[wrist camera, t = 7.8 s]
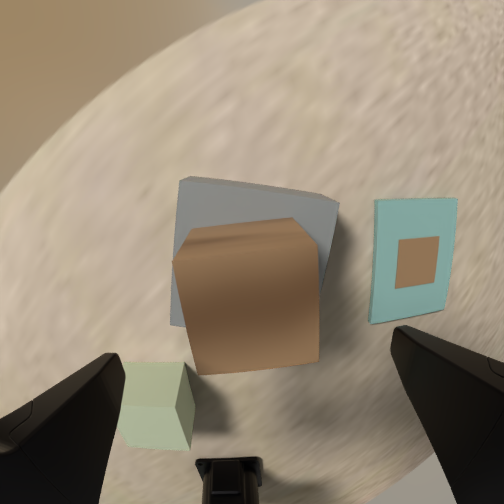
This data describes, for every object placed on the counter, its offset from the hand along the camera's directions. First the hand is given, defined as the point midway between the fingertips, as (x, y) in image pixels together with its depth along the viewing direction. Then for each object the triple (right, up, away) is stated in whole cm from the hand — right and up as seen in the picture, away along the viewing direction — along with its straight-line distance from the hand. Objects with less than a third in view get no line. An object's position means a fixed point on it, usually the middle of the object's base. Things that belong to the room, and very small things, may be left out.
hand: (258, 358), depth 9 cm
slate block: (-1, +4, +11) cm, 11 cm away
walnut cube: (0, +2, +7) cm, 7 cm away
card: (+12, +3, +11) cm, 16 cm away
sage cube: (-8, -8, +14) cm, 17 cm away
